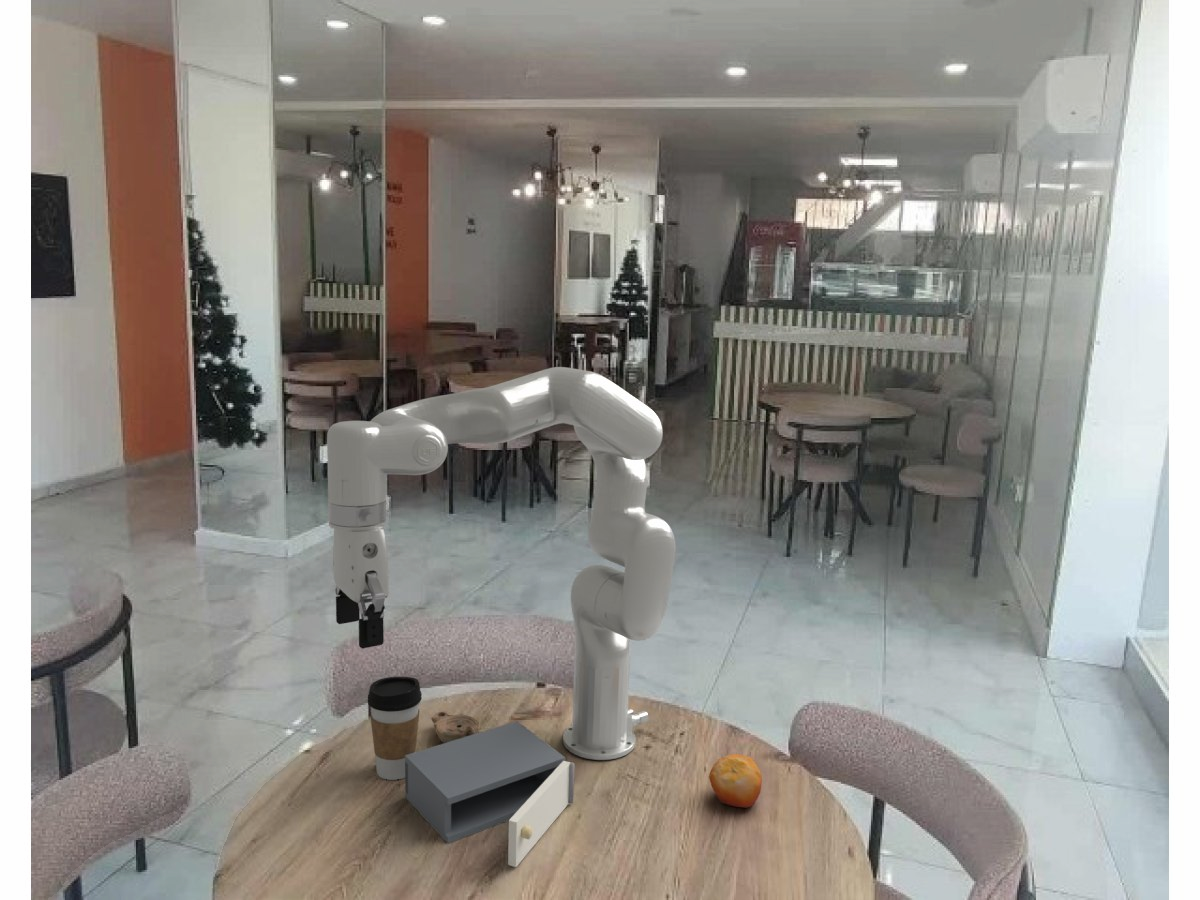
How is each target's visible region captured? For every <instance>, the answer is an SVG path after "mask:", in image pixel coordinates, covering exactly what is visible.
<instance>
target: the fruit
mask: <svg viewBox="0 0 1200 900" xmlns="http://www.w3.org/2000/svg"><path fill="white" fill-rule="evenodd" d="M708 775H709V776H708V778H709V782H710V785H711V788H712V790H713V792H714V794H715V795H716V797H717V799H718V801H719V802H721V803H722V804H725V805H727V806H731V807H734V808H735V807H736V808H744V809H745V808H750V807H752V806H753V805H755V803H756V802H757V800H758V798H759V797H760V794H761V791H762V782H763V778H762V777H763V776H762V773H761V771H760V768H759V767H758V765H757V763H756V762H755V761H754V759H753V758H751V756H747V755H744V754H738V753H732V754H727V755H724V756H723V757H721V758H719V759H717V761H716V762H715V763H714V764H713V766H712V767H711V769H710V771H709V774H708Z"/></svg>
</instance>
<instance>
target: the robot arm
mask: <svg viewBox="0 0 1200 900" xmlns="http://www.w3.org/2000/svg"><path fill="white" fill-rule="evenodd" d="M559 424H566V425H570V426H573V428H574V432H575V434H576V437H577V439H579V441H580V442H581V443H582V444H583V445H584V446H585V448H586V450H588V452H589V453H590V455H591V457H592V460H593V462H594V466H595V471H596V484H595V492H594V497H593V504H592V510H591V517H590V522H589V523H590V525H589V528H588V544H589V547H590V549H591V551H592V552H593V553H594V554H596V555H597V556H598V557H600V558H603V559H605V560H607V561H609V562H611V563H614V564H616V565H619V566H621V567H624V571H623V570H622V571H621V570H619V569H617V568H613V567H611V566H608V565H602V564H593V565H589V566H586V567H585V568H583V569H582V570H581V571H579V573H578V574H577V575H576V576H575V578H574V580H573V581H572V585H571V589H570V607H571V614H572V619H573V625H574V626H573V627H574V628H573V629H574V658H573V659H574V660H573V661H574V662H573V663H574V664H573V689H572V690H573V692H572V693H573V694H572V695H573V698H572V723H571V725H569V726H568V727H567V728H566V729H565V730H564V731H563V733H562V735H563V736H562V743H563V746H564V748H565V749H567V750H568V751H569V752H570V753H572V754H573V755H575V756H578V757H580V758H583V759H587V760H594V761H609V760H614V759H615V760H617V759H619V758H622V757H624V756H626V755H628V754H630V753H631V752H632V751H633V749H634V748H635V746H636V735H635V733H634V731H633V729H634V728H635V727H636V725H640V724H643V723H646V722H649V714H648V712H647V711H646V710H642V711H639V712H636V713H635V712H634V710H633V709H632V708H629V689H630V667H631V665H630V663H631V642H630V641H631V640H632V641H638V642H641V641H646V640H647V639H650V638H651V637H652V636H654V635H655V634H656V633H657V631H658V630H659V628H660V627H661V626H662V623H663V621H664V617H665V616H666V611H667V608H668V607H667V606H668V602H669V601H668V600H669V595H670V588H671V585H672V584H671V583H672V578H673V577H672V576H673V570H674V566H675V560H676V559H675V558H676V551H677V550H676V547H677V545H676V539H675V535H674V532H673V530H672V528H671V526H670V525H669V523H667V522H666V521H665V519H663V518H661V517H659V516H656V515H654V514H650V513H648V512H646V496H647V487H648V470H647V465H646V462H645V460H646V459H647V458H650V457H652V455H653V454H655V453H656V452H657V451H658V450H659V447H660V446H661V443H662V440H663V431H664V430H663V426H662V422H661V420H660V417H659V416H658V415H657V414H656V413H655V411H654V410H653V409H651V407H649V406H648V405H647V404H645V403H644V402H642V401H641V400H639V399H638V398H636V397H635V396H633V395H632V394H630V393H629V392H628V391H626V390H625V389H623V388H622V387H620V386H619V385H618V384H616V383H614V382H613V381H612V380H610V379H608V378H607V377H605V376H603V375H602V374H600V373H597V372H594V371H590V370H584V369H578V368H573V367H572V368H571V367H565V366H555V367H549V368H545V369H542V370H540V371H536V372H533V373H529V374H526V375H523V376H519V377H517V378H513V379H511V380H507V381H504V382H500V383H498V384H494V385H490V386H487V387H482V388H477V389H471V390H464V391H461V392H460V391H459V392H456V393H449V394H445V395H444V394H443V395H437V396H431V397H428V398H422V399H418V400H416V401H412V402H408V403H405V404H401V405H399V406H396V407H393V408H389V409H387V410H383V411H382V412H380V413H378V414H377V415H375V416H374V417H373V418H372V419H371V420H369V421H367V420H347V421H339V422H336V423H333V424H332V425H331V426H330V427H329V428H328V431H327V435H326V437H327V438H326V441H327V443H326V445H327V451H326V453H327V493H328V494H327V496H328V500H327V502H328V503H327V505H328V507H327V508H328V526H329V527H330V528H331V529H333V542H332V543H333V545H332V547H333V548H332V552H333V553H332V563H333V564H332V567H333V568H332V569H333V570H332V571H333V580H334V583H335V589H334V591H335V595H336V596H335V620H336V621H335V622H336V623H337V624H338V625H342V624H349V623H354V622H358V646H359V648H361V649H362V650H363V649H367V648H372V647H377V646H383V644H384V642H385V641H384V640H385V639H384V635H385V634H384V631H385V630H384V617H385V611H384V610H385V609H386V607H385V600H386V599H387V598H388V597H389V595H390V580H389V579H390V574H389V560H388V547H387V540H386V532H385V528H384V526H386V525H387V475H401V476H402V475H408V476H421V475H427V474H429V473H431V472H434V471H435V470H437V469H438V468H440V467H441V466H442V464H443V463H444V462H445V460H446V458H447V455H448V452H449V451H448V450H449V446H448V445H452V444H474V445H475V444H477V445H478V444H479V445H490V444H491V445H493V444H504V443H507V442H510V441H511V442H512V441H514V440H515V439H518V438H522V437H524V436H526V435H529V434H532V433H535V432H538V431H540V430H544V429H546V428H549V427H552V426H554V425H559ZM362 595H363V596H362ZM368 603H370V604H369V605H368V607H367V606H366V604H368ZM634 713H635V714H634Z"/></svg>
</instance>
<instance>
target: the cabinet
mask: <svg viewBox="0 0 1200 900" xmlns="http://www.w3.org/2000/svg"><path fill="white" fill-rule="evenodd" d="M563 761H566V757H565V756H564V755H563V754H561V752H559V751H558V750H556V749H554V747H552V746H551V745H549V743H547V742H545V741H544V740H543V739H542V738H540V737H539V736H538V735H536V734H535V733H533V731H531V730H530V729H529V728H527V727H526V726H525V725H523V723H521V722H519V721H518V720H516V721H513V722H509V723H506V724H502V725H500V726H497V727H496V726H495V727H493V728H490V729H486V730H483V731H480V733H476V734H473V735H470V736H467V737H463V738H460V739H457V740H454V741H450V742H447V743H441V744H437V745H434V746H431V747H428V748H425V749H422V750H419V751H418V750H417V751H415V753H411V754H408V755H405V778H404V780H405V781H404V783H405V784H404V790H405V791H404V793H405V794H404V795H405V799H406V800H407V801H408V803H410V804H411V805H412V806H413V808H414V809H417V810H418V811H419V812H418V811H417V810H416V811H417V812H418V813H419V814H420V813H421V814H420V815H421V816H422V817H423V818H424V820H425V821H426V822H427V823H428V822H429V823H428V824H429V825H430V826H431V827H432V828H433V829H434V830H435V832H437V833H438V835H439V836H440V837H441V838H442V839H443V840H444V841H445V842H446V843H447V844H451V843H454V842H456V841H459V840H461V839H464V838H467V837H469V836H473V835H475V834H477V833H480V832H482V831H485V830H487V829H490V828H493V827H496V826H498V825H500V824H503V823H506V822H509V820H510V819H511V817H512V816H513V815H514V814H515V813H516V812H517V811H518V810H519V809H520V808H521V806H522V805H523V804H524V803H525V802H526V801H527V800H528V799H529V798H530V797H531V796H532V794H533V793H534V792H535V791H536V790H537V789H538V788H539V787H540V786H541V785H542V784H543V782H544V781H545V780H546V779H547V778H548V777H549V776H550V775H551V774H552V773H553V771H554V770H555V769H556V768H557V767H558V766H559V765H560V764H561V763H562V762H563Z"/></svg>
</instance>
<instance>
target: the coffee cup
mask: <svg viewBox="0 0 1200 900" xmlns="http://www.w3.org/2000/svg"><path fill="white" fill-rule="evenodd" d="M422 695H423V694H422V691H421V686H420V681H419V679H418V678H415V677H411V676H388V677H384V678H380V679H377V680H376V681H374V682H372V683H371V684H370V686H369V690H368V695H367V704H368V706H369V707H370V714H369V715H370V725H371V733H372V743H373V749H374V757H375V767H376V769H375V770H376V774H377V776H378V777H379V778H380V779H383V780H386V779H387V780H388V781H398V780H397V779H399V780H402V779H405V755H408V754H411V753H415V752H416V750H417V741H418V740H417V739H418V732H419V731H418V730H419V721H420V720H419V719H420V708H419V705H420V703H421V701H422Z"/></svg>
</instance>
